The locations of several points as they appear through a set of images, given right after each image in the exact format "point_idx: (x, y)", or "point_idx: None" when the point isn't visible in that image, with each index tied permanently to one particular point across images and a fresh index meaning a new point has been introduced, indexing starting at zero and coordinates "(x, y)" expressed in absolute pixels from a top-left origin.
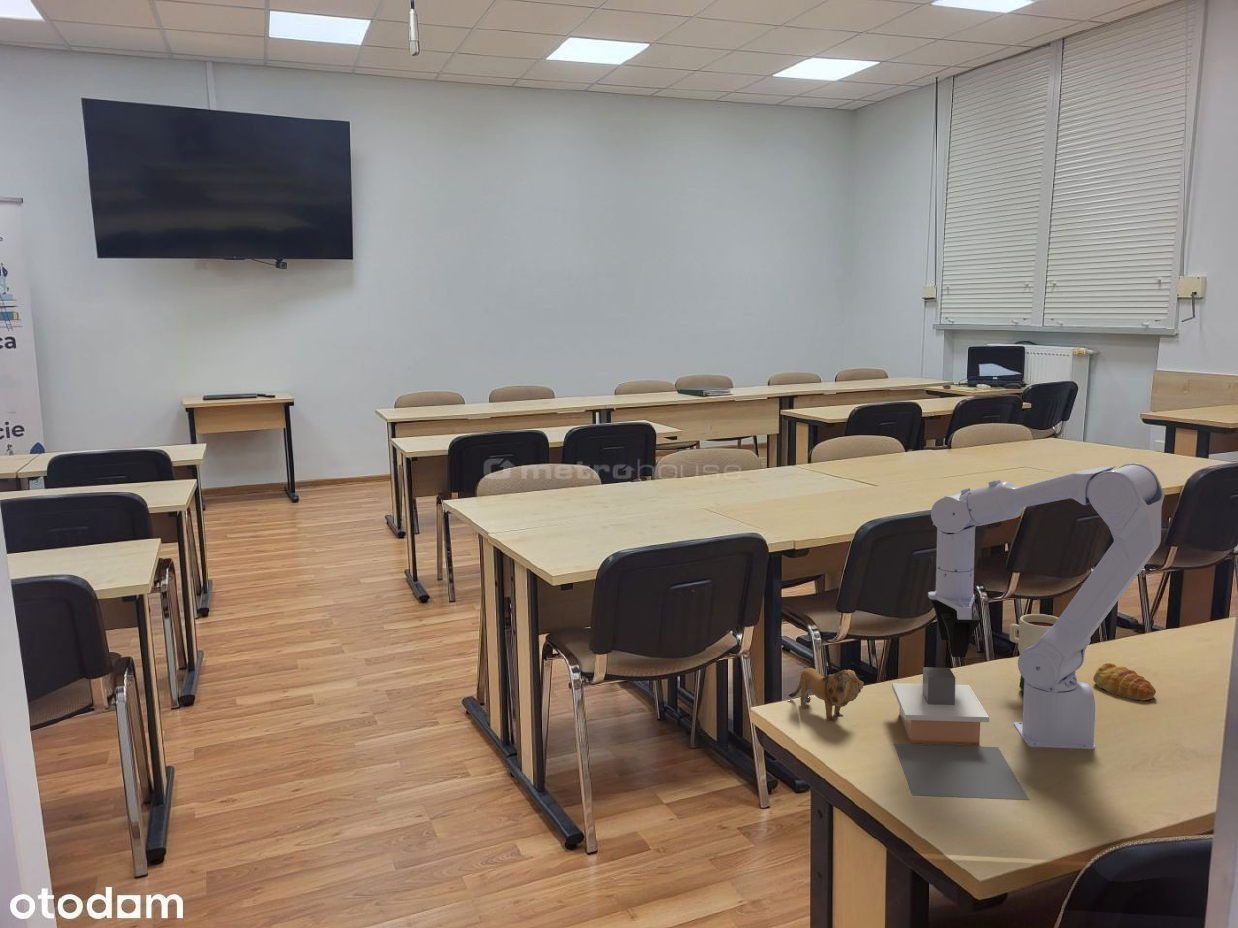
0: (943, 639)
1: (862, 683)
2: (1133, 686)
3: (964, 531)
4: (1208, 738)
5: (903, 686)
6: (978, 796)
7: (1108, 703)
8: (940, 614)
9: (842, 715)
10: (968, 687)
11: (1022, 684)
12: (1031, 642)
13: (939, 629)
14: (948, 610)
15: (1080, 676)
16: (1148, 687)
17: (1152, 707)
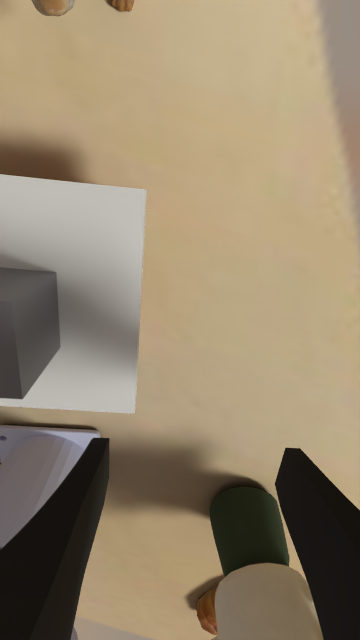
0: (285, 455)
1: (40, 2)
2: (211, 618)
3: None
4: (79, 616)
5: (115, 224)
6: None
7: (193, 566)
8: (354, 569)
9: (116, 1)
10: (116, 407)
11: (245, 498)
12: (243, 630)
13: (310, 480)
14: (354, 631)
15: (300, 567)
16: (207, 629)
17: (176, 601)
